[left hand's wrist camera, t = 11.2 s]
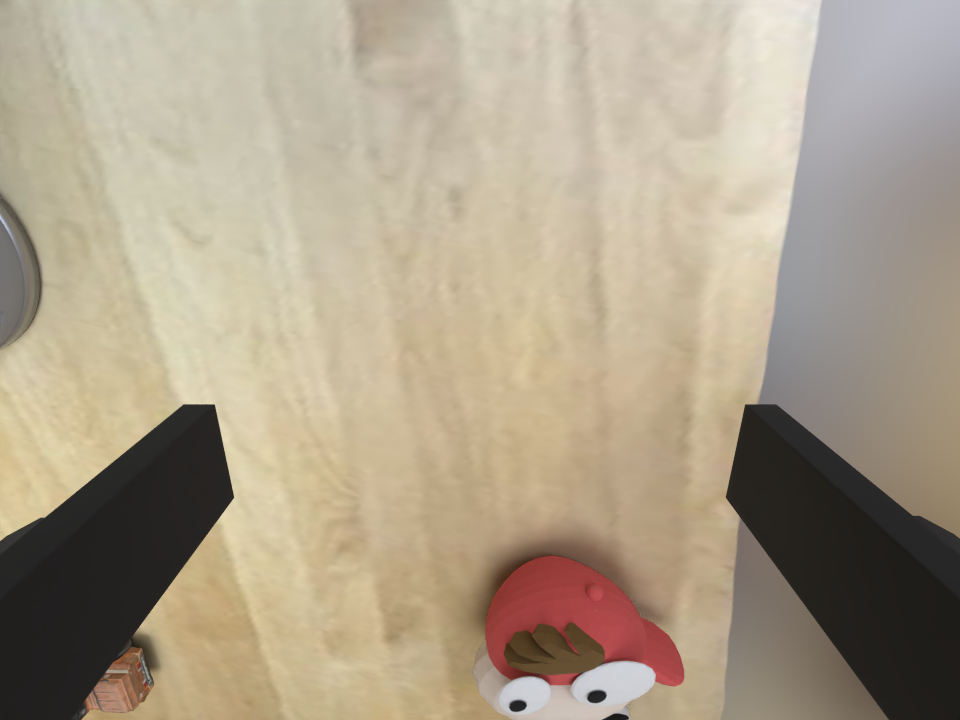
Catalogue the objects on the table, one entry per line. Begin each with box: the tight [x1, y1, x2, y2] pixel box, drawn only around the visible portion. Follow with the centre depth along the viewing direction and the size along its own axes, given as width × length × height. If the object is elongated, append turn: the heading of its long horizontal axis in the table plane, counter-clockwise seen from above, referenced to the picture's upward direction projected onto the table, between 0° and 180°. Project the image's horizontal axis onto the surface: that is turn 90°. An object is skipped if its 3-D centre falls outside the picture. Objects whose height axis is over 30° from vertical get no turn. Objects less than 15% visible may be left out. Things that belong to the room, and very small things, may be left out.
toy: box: [473, 555, 684, 720], centre depth 47 cm, size 18×10×30 cm
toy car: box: [71, 639, 154, 720], centre depth 47 cm, size 6×12×7 cm, turn 98°
